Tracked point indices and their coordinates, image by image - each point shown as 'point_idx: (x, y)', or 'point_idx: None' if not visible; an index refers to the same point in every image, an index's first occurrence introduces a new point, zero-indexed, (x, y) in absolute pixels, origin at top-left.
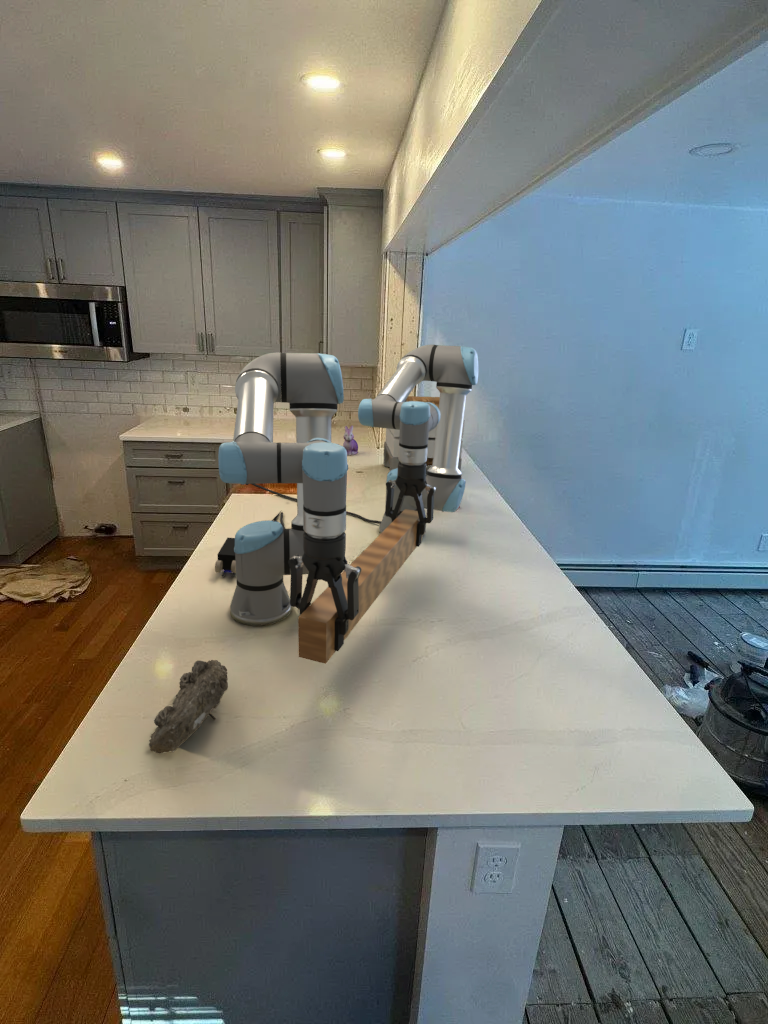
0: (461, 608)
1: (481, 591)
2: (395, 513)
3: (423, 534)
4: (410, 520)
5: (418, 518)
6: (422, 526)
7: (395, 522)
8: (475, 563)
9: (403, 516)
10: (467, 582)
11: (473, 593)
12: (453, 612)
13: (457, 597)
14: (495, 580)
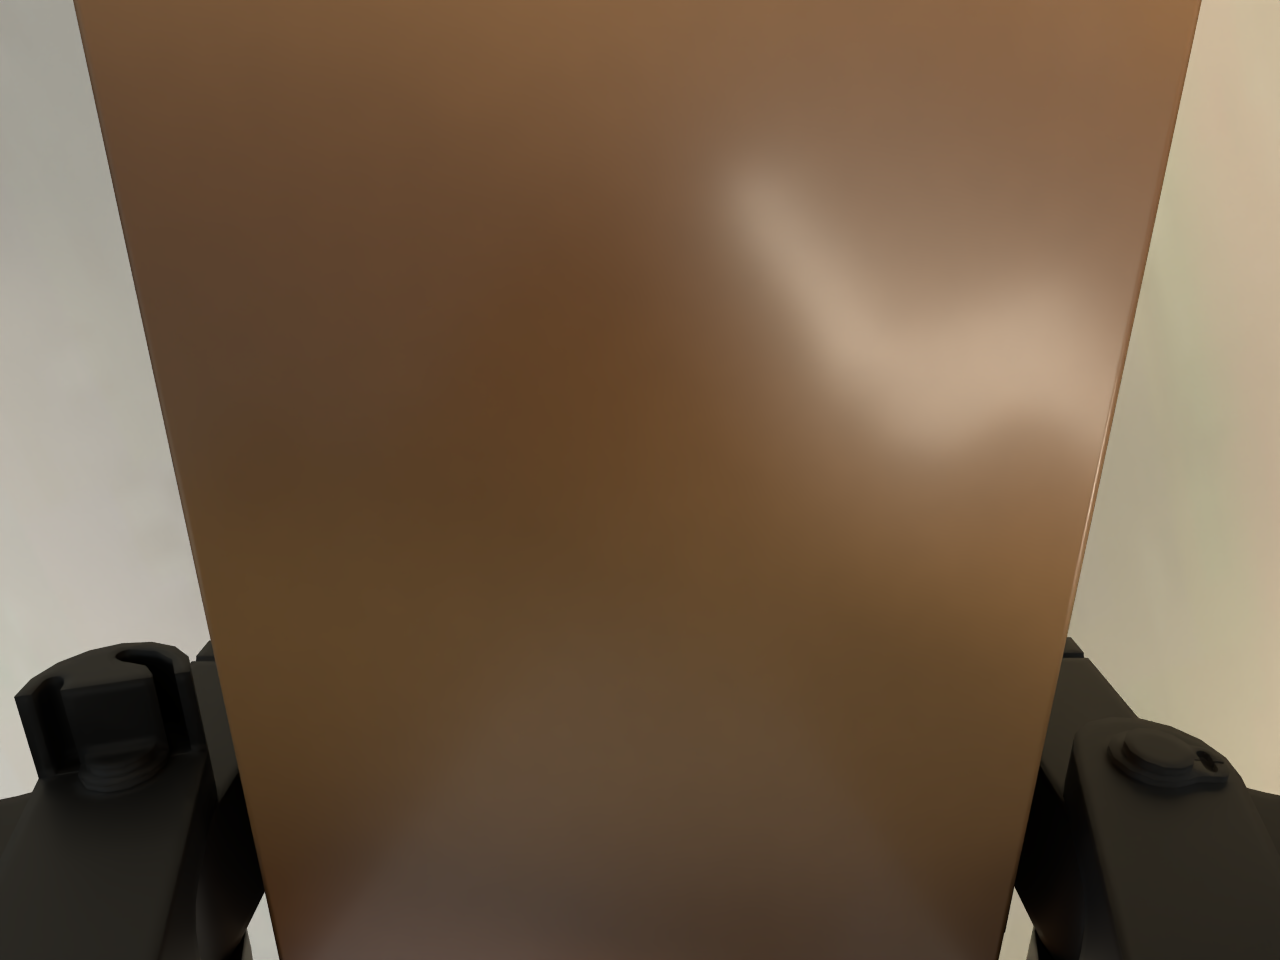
0: (13, 149)
1: (12, 535)
2: (1184, 899)
3: None
4: (432, 606)
5: (268, 903)
6: (206, 712)
7: (1011, 48)
8: (258, 935)
9: (822, 862)
10: (182, 637)
11: (53, 474)
12: (41, 31)
13: (140, 346)
14: (4, 748)
